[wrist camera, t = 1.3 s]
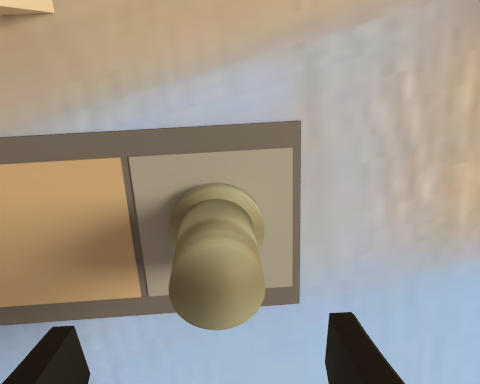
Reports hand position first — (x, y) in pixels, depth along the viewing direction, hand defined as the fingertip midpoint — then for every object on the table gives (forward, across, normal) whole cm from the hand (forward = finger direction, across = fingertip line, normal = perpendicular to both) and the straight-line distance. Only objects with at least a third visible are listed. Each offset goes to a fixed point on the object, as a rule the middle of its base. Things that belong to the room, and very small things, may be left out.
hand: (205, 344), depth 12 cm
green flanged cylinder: (+9, 0, +2) cm, 9 cm away
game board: (+9, +8, +2) cm, 12 cm away
